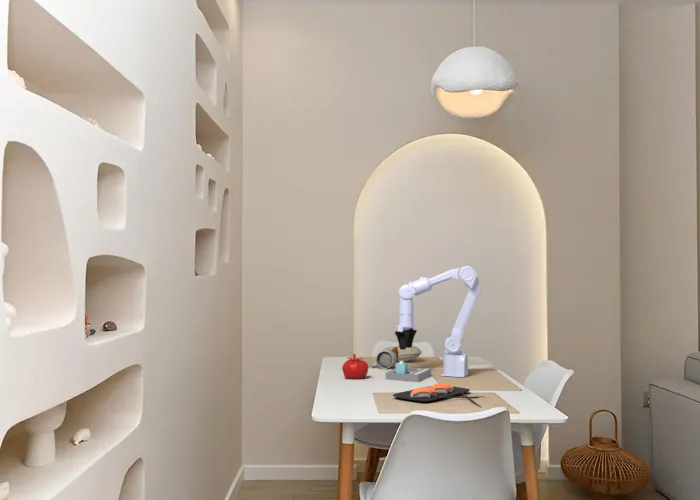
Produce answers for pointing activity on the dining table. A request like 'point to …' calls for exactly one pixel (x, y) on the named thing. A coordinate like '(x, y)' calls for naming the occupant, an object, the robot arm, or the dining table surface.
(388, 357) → the ceramic mug
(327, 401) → the dining table surface
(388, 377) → the panel
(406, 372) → the plug
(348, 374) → the red round piece
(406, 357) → the nautilus
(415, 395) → the sushi plate
